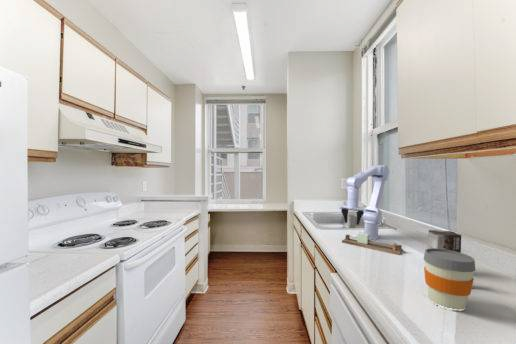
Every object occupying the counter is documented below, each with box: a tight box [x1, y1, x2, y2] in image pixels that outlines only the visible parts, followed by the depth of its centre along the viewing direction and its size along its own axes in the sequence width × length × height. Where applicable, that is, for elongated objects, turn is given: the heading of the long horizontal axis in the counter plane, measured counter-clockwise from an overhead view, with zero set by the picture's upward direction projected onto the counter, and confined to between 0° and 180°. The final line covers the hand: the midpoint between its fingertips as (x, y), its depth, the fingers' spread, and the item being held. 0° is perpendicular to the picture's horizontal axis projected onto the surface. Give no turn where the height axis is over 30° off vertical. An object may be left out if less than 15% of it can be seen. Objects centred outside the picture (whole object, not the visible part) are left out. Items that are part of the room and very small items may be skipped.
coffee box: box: [427, 229, 462, 253], centre depth 100 cm, size 9×6×16 cm
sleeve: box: [357, 232, 371, 244], centre depth 133 cm, size 4×5×4 cm
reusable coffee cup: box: [423, 248, 476, 310], centre depth 76 cm, size 13×13×15 cm
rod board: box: [341, 234, 404, 256], centre depth 131 cm, size 9×28×4 cm, turn 51°
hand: (351, 223), depth 137 cm, fingers open, 6 cm apart
